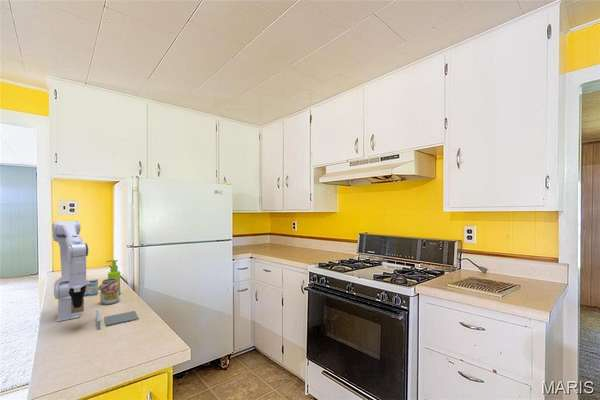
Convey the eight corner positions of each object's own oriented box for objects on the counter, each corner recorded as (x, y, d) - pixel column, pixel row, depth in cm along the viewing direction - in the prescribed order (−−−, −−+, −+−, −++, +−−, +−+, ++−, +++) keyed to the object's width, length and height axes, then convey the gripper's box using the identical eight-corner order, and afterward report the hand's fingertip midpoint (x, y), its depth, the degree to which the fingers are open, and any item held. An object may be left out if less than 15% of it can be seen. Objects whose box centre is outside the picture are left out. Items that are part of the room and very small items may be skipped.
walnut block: (71, 310, 121) (71, 296, 121) (83, 308, 123) (83, 294, 123) (71, 313, 117) (71, 298, 118) (83, 311, 120) (83, 296, 120)
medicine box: (79, 297, 164) (79, 281, 164) (81, 295, 168) (81, 280, 168) (96, 295, 167) (96, 280, 168) (98, 293, 171) (98, 278, 172)
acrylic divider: (96, 318, 130) (96, 310, 130) (98, 317, 131) (98, 310, 131) (97, 330, 117) (97, 321, 117) (100, 329, 118) (100, 320, 118)
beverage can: (98, 307, 146) (98, 282, 146) (97, 303, 153) (97, 280, 153) (120, 303, 152) (120, 279, 152) (117, 299, 158) (117, 277, 159)
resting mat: (104, 318, 130) (104, 316, 130) (134, 312, 137) (134, 310, 138) (105, 326, 121) (105, 325, 121) (138, 319, 128) (138, 318, 128)
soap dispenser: (109, 294, 169) (109, 259, 169) (122, 293, 169) (122, 259, 170) (103, 297, 163) (103, 261, 163) (116, 296, 163) (116, 260, 164)
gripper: (89, 274, 117) (89, 308, 117) (89, 268, 129) (89, 299, 128) (67, 277, 113) (67, 312, 113) (69, 271, 125) (69, 303, 124)
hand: (77, 306), depth 120 cm, fingers closed on walnut block, 4 cm apart
